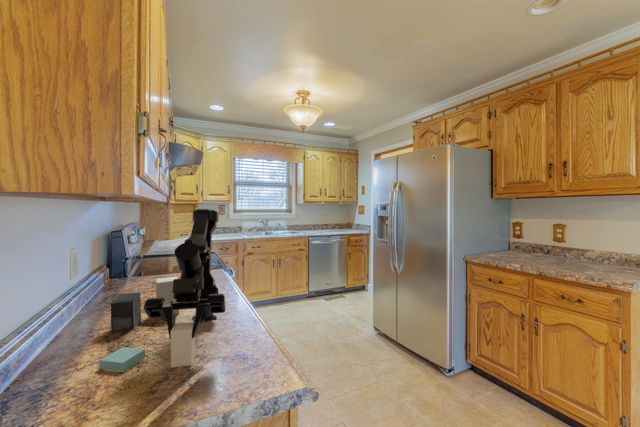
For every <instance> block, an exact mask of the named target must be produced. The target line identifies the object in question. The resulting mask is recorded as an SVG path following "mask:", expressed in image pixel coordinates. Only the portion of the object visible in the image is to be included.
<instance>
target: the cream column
mask: <svg viewBox="0 0 640 427" xmlns="http://www.w3.org/2000/svg"><path fill="white" fill-rule="evenodd" d="M193 325H194V321H193V322H181V323H175V325H174V327H173V328H172V330H171V340H170V368H178V367H187V366H192V365H193V361H194V360H195V358H196V336H195V337H194V338H192V329H193Z"/></svg>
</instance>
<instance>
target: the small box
mask: <svg viewBox="0 0 640 427" xmlns="http://www.w3.org/2000/svg"><path fill="white" fill-rule="evenodd" d="M109 304H110V326H111V327H110V328H111V329H110V332H120V331H130V330H135V328H136V327H139V326H140V325H141V323H142V313H141V312H142V310H141V306H142V305H141V291H136V292H129V293H128V292H127V293H119V295H118V296H116V298H115V299H113V300H112V302H110V303H109Z"/></svg>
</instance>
